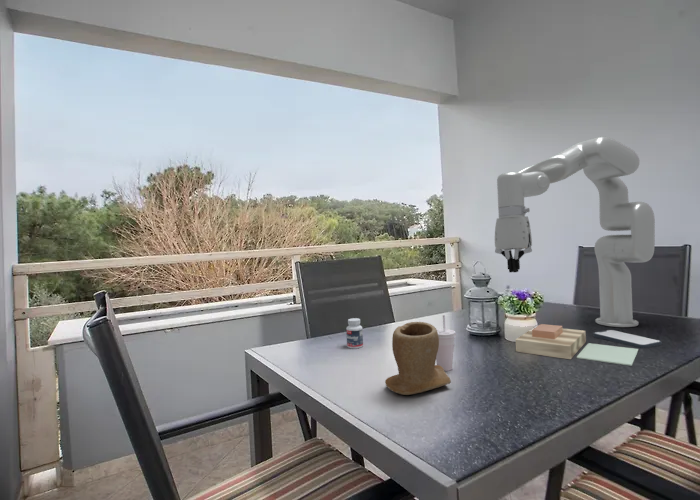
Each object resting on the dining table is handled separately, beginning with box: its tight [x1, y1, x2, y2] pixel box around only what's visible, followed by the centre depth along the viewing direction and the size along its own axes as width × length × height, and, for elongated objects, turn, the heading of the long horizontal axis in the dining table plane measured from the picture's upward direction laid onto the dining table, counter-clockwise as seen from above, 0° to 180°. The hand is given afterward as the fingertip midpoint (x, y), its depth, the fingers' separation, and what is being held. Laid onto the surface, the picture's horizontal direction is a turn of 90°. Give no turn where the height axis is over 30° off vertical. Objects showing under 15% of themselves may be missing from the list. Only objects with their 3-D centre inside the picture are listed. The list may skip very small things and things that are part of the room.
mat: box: [576, 342, 639, 367], centre depth 106 cm, size 16×12×1 cm
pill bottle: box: [345, 317, 364, 349], centre depth 126 cm, size 5×5×9 cm
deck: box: [515, 327, 587, 360], centre depth 115 cm, size 20×14×4 cm
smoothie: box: [435, 314, 457, 372], centre depth 100 cm, size 6×6×14 cm
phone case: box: [592, 329, 663, 349], centre depth 118 cm, size 9×2×16 cm
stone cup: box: [384, 321, 452, 396], centre depth 88 cm, size 15×12×15 cm
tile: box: [532, 323, 564, 339], centre depth 115 cm, size 9×6×2 cm, turn 139°
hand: (513, 271), depth 121 cm, fingers closed
